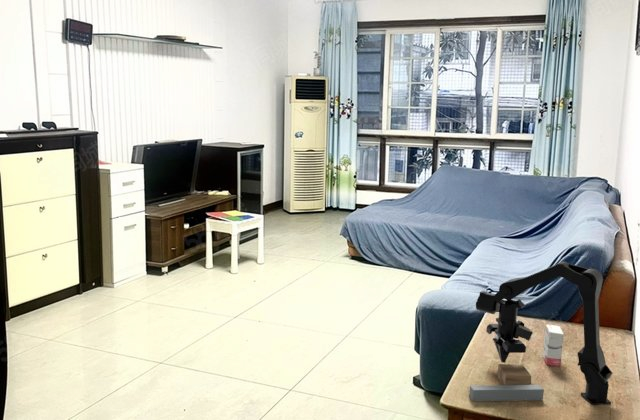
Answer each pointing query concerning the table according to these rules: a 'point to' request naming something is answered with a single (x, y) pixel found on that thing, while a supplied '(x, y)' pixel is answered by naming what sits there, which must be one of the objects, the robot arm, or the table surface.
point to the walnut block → (513, 374)
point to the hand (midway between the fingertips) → (503, 362)
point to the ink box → (553, 345)
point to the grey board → (505, 392)
